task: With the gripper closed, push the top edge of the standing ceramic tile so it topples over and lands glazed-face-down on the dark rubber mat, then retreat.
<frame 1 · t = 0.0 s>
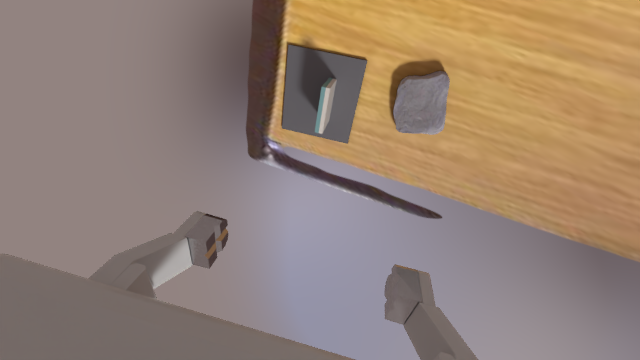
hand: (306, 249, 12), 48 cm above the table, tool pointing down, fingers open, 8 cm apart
stone block: (417, 102, 54), on the table
mat: (320, 97, 57), on the table
tile: (329, 99, 56), point 1 cm above the table, touching mat
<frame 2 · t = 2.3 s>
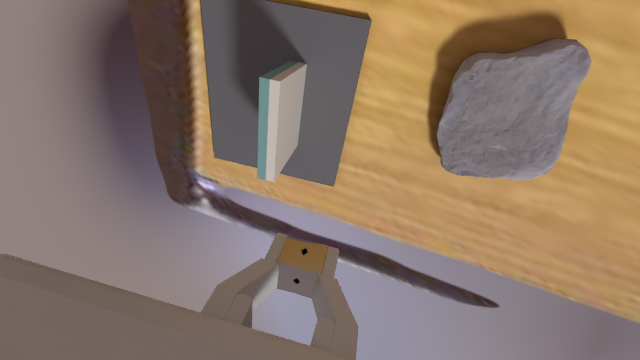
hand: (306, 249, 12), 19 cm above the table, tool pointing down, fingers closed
stone block: (488, 112, 25), on the table
mat: (278, 101, 29), on the table
tile: (294, 106, 28), point 1 cm above the table, touching mat
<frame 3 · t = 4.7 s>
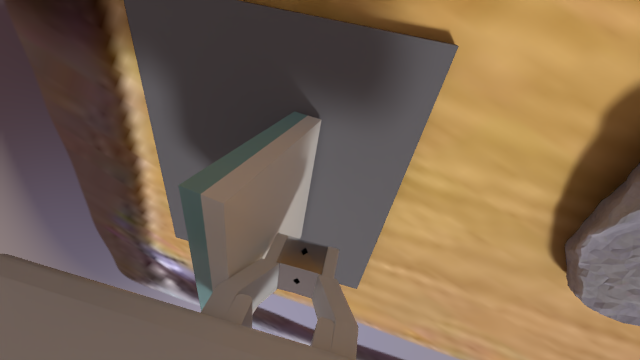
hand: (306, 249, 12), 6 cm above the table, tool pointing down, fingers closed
mat: (272, 169, 17), on the table
tile: (298, 182, 16), point 1 cm above the table, tilted 9°, touching mat
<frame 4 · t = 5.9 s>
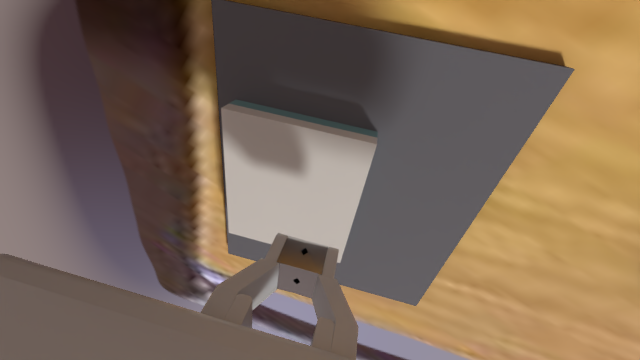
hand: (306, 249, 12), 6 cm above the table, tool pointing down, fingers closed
mat: (342, 188, 17), on the table
tile: (356, 205, 16), point 1 cm above the table, tilted 90°, touching mat
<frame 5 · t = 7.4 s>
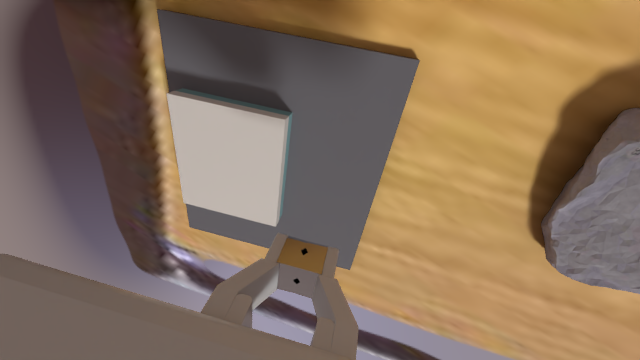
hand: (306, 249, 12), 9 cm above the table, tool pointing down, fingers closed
stone block: (626, 188, 17), on the table
mat: (275, 163, 20), on the table
tile: (283, 174, 19), point 1 cm above the table, tilted 90°, touching mat
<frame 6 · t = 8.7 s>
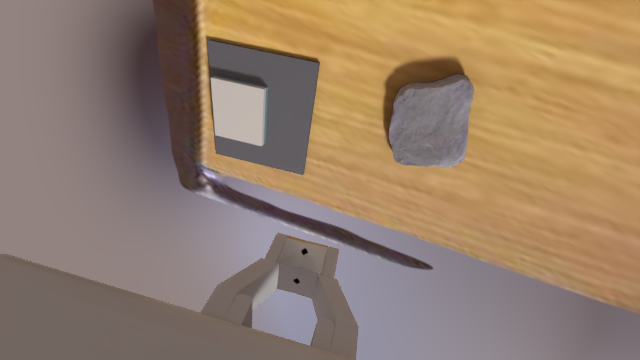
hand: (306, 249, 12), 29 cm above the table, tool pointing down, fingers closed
stone block: (424, 120, 37), on the table
mat: (261, 113, 41), on the table
tile: (264, 117, 39), point 1 cm above the table, tilted 90°, touching mat
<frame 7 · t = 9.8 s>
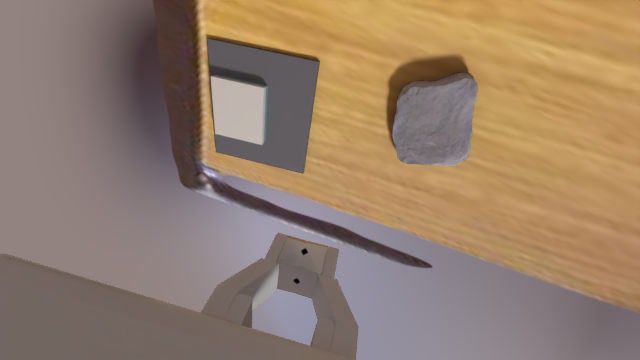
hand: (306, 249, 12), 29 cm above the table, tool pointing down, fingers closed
stone block: (427, 119, 37), on the table
mat: (261, 112, 41), on the table
tile: (264, 116, 40), point 1 cm above the table, tilted 90°, touching mat
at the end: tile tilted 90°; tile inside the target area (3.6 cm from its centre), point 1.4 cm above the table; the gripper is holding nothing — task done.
